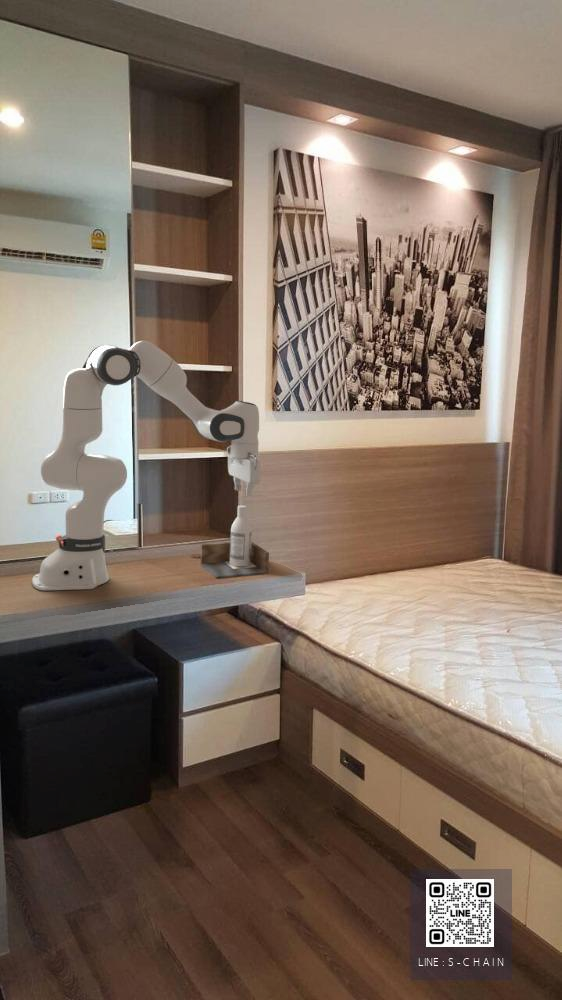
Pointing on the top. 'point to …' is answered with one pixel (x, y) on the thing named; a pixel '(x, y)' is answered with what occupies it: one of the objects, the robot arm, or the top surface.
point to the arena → (219, 565)
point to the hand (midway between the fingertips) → (243, 493)
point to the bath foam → (240, 539)
